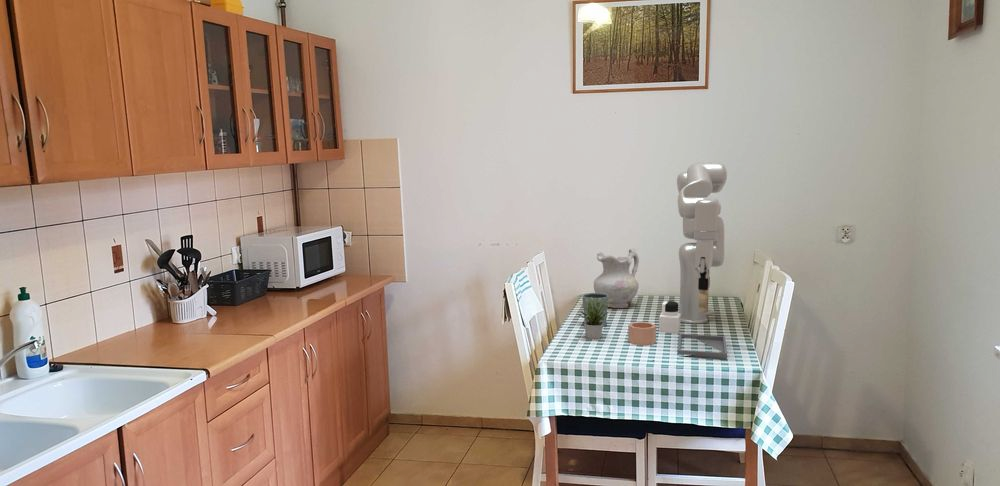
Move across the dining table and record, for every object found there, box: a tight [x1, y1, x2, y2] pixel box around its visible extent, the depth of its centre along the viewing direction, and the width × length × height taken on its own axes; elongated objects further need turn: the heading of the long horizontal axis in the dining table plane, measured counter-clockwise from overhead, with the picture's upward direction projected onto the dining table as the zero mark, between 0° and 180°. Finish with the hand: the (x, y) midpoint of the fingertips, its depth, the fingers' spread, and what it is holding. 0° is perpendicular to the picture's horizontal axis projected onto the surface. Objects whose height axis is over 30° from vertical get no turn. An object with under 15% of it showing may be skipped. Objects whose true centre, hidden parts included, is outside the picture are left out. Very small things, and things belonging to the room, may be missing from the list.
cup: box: [627, 321, 657, 346], centre depth 259 cm, size 9×9×7 cm
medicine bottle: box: [658, 300, 681, 334], centre depth 274 cm, size 7×7×12 cm
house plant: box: [575, 297, 613, 340], centre depth 265 cm, size 14×14×16 cm
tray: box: [677, 333, 728, 361], centre depth 252 cm, size 22×16×2 cm
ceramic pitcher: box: [593, 248, 640, 309], centre depth 320 cm, size 22×20×25 cm
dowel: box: [698, 272, 710, 313], centre depth 250 cm, size 3×3×14 cm
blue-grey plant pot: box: [581, 292, 608, 328], centre depth 287 cm, size 10×10×12 cm
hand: (703, 288), depth 249 cm, fingers closed on dowel, 3 cm apart
